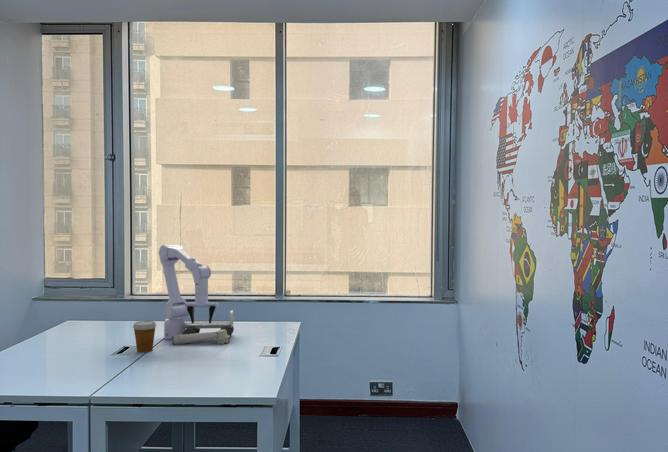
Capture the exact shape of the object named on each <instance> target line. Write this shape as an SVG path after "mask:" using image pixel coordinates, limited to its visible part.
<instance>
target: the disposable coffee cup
mask: <svg viewBox="0 0 668 452" xmlns="http://www.w3.org/2000/svg"><path fill="white" fill-rule="evenodd" d="M156 327H157V324H156V321H154V320H140V321H136V322H134V323H133V325H132V328H133V330H134V338H135V339H134V340H135V344H136V352H137V353H149V352H152V351H153V349H154V341H155V333H156Z"/></svg>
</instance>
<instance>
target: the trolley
mask: <svg viewBox="0 0 668 452" xmlns="http://www.w3.org/2000/svg"><path fill="white" fill-rule="evenodd" d="M183 329H185V331H184V332H183V335H186V334H196V333H201V329H204V330H205V329H219V330H226V331H227V335H230V338H229V340H230V339H231V338H232V334H233V333H234V330H235V327H234V310H230V311H229V321H211V323H209V321H194V323H193V324H192V322H191V321H190V322H189V321H188V322H187V321H185V324H184V325H183Z"/></svg>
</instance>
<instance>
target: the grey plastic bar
mask: <svg viewBox="0 0 668 452" xmlns="http://www.w3.org/2000/svg"><path fill="white" fill-rule="evenodd" d="M229 338H230V335H227V331H226V330H220V329H219V330H217V331H209V332H208V331H207V332H199V333H196V334H186V335H181V334H180V335H178V336H173V337H172V339H171V343H172V345H182V344H183V345H184V344H188V343H189V344H190V343H194V342H195V343H196V342H200V341H207V340H214V339H215V341H216V344H218V345H219V344H221V345H224V344H225V343H226V344H227V343H230V339H231V338H230V339H229Z"/></svg>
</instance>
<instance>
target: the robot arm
mask: <svg viewBox="0 0 668 452" xmlns="http://www.w3.org/2000/svg"><path fill="white" fill-rule="evenodd" d="M158 255H159V256H158V257H159V261H160V263H161V265H162V271H163V275H164V280H165V285H166V290H167V294H168V298H169V299H168V301H167V302H166V303H165V304H164V306H165V316H166V319H165V320H164V325H163V328H164V329H163V330H164V331H163V335H164V337H163V340H172V337H173V336H178V335H180V334H181V335H183V332H184V331H185V330H186V329H183V325H184V324H185V323H186V319H187V318H188V316H190V317H189V318H190V320H191V321H190V322H192V324H193V323H194V322H195V308H208V315H209V316H208V317H209V318H208V322H209V323H211V322H212V321H213V317H214V313H215V310H216V308H218V307H219V302H218V301H217V302H216V301H215V302H213V301H209V279H210V277H211V276H212V272H211V271H212V270H211V268H210V267H209V265H203V264H202V263H201V262H200V261H198V260H197V258H196V257H191V256H189V254H187V252H185V249H184V246H182V245H181V244H179V243H178V244H162V245H160V247H159V249H158ZM179 260H180V261H181V262H182V263H184V267H185V268H186V269H187V270H188V271H189V272H190V273H191V275H192V278H193V283H194V301H191V302H189V301H188V302H187V300H186V299H185V298H183V297H182V296H181V292H180V287H179V284H178V277H177V273H176V269H175V265H176V264H177V263H178V262H179Z"/></svg>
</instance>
